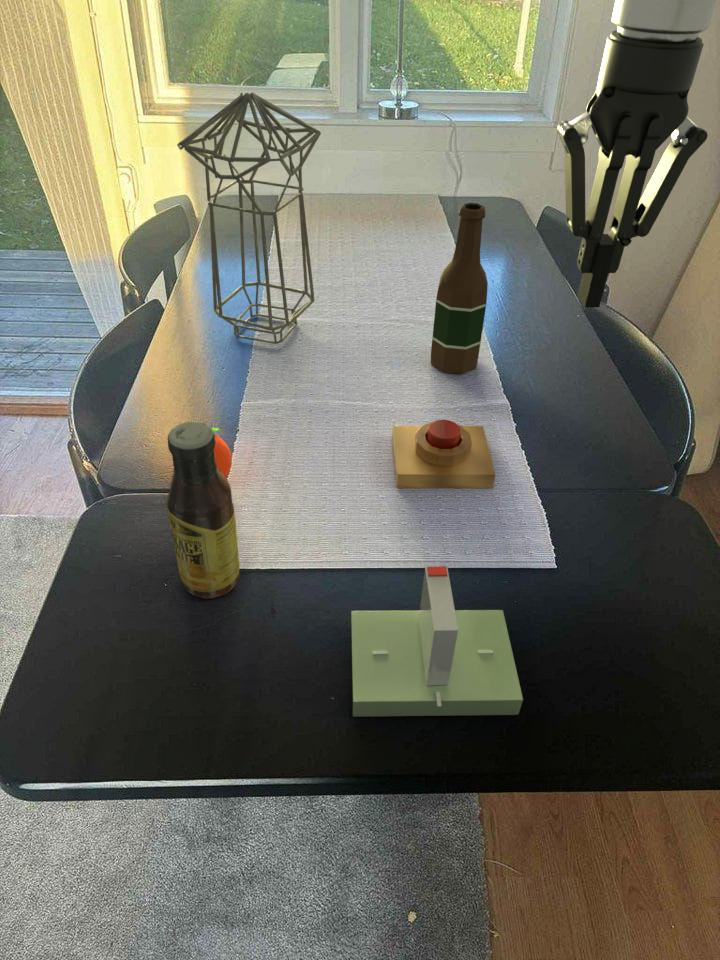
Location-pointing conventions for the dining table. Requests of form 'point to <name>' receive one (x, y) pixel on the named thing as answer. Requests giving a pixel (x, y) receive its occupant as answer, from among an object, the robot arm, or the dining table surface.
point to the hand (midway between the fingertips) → (588, 301)
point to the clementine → (222, 454)
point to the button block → (441, 459)
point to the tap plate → (400, 670)
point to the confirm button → (443, 434)
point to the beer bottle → (461, 299)
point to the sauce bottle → (201, 513)
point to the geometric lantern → (228, 117)
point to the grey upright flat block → (437, 625)
